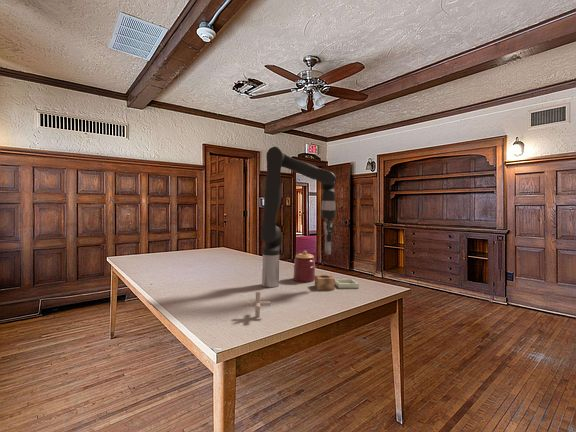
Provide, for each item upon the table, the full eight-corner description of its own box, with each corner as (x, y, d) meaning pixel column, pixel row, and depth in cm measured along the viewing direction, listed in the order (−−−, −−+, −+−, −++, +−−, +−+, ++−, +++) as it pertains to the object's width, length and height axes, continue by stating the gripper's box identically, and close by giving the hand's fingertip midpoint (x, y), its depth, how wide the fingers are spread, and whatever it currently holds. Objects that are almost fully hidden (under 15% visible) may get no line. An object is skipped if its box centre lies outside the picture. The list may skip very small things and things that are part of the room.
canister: (308, 283, 173) (309, 252, 173) (289, 280, 180) (289, 250, 180) (318, 279, 184) (319, 250, 184) (300, 276, 191) (301, 248, 191)
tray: (339, 288, 164) (339, 284, 164) (333, 283, 175) (333, 279, 175) (358, 288, 165) (358, 283, 165) (352, 283, 176) (352, 278, 176)
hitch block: (318, 290, 160) (318, 278, 160) (314, 285, 169) (314, 274, 169) (334, 289, 162) (334, 278, 161) (330, 285, 171) (330, 274, 170)
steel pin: (325, 254, 163) (326, 226, 163) (324, 253, 167) (324, 226, 166) (331, 254, 164) (331, 226, 163) (329, 253, 167) (330, 226, 167)
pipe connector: (245, 312, 125) (245, 288, 125) (269, 312, 126) (270, 288, 125) (244, 321, 115) (244, 295, 115) (270, 321, 116) (271, 295, 116)
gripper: (318, 209, 171) (318, 239, 172) (324, 209, 157) (324, 242, 158) (331, 209, 172) (331, 239, 172) (338, 209, 158) (338, 242, 158)
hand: (328, 241), depth 165 cm, fingers closed on steel pin, 3 cm apart
